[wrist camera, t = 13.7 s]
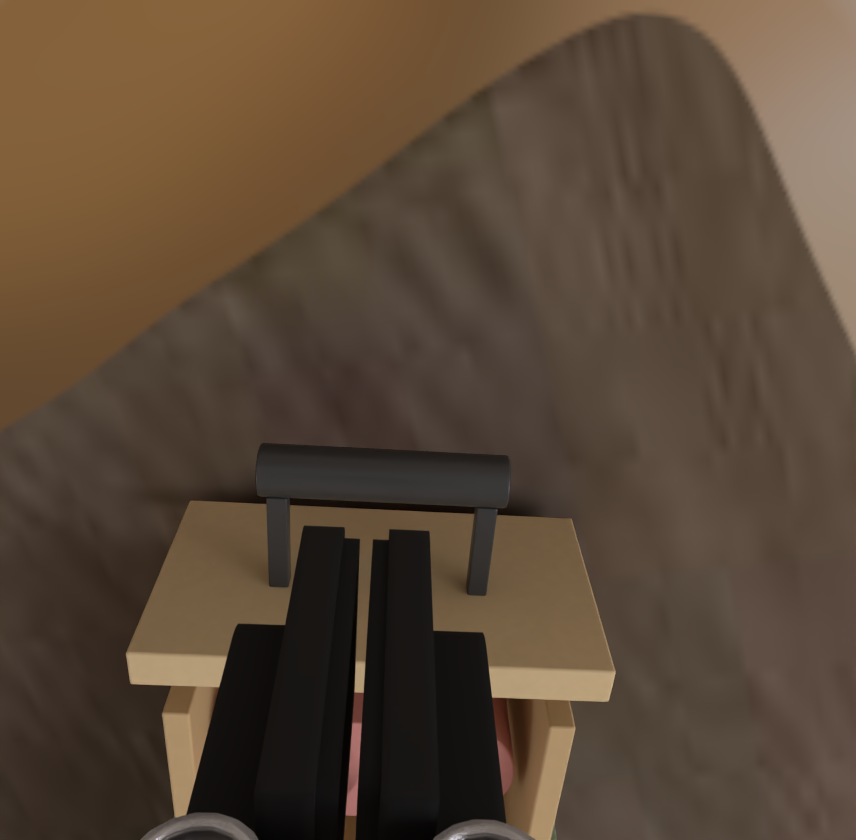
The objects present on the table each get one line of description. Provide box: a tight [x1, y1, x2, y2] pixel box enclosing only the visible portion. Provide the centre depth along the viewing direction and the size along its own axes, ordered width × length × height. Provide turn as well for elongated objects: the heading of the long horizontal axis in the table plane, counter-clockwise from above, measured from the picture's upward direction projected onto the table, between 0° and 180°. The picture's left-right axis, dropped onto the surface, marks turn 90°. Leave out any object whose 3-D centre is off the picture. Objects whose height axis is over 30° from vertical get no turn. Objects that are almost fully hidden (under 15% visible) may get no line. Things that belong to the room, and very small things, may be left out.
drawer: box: [126, 443, 616, 840], centre depth 28 cm, size 20×13×7 cm, turn 176°
